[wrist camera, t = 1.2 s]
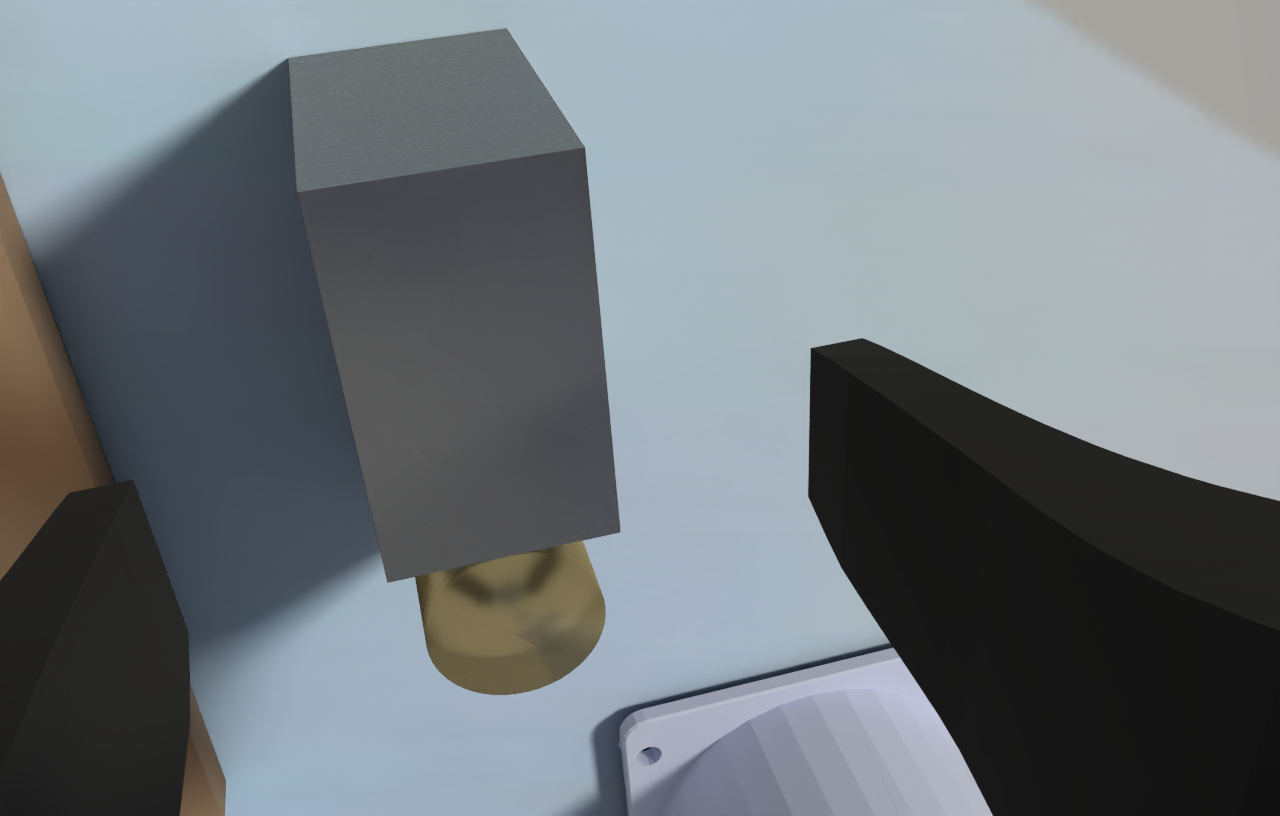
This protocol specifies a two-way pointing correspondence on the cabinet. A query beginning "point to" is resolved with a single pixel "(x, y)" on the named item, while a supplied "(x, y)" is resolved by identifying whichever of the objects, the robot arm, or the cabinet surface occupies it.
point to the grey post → (465, 341)
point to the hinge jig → (59, 453)
